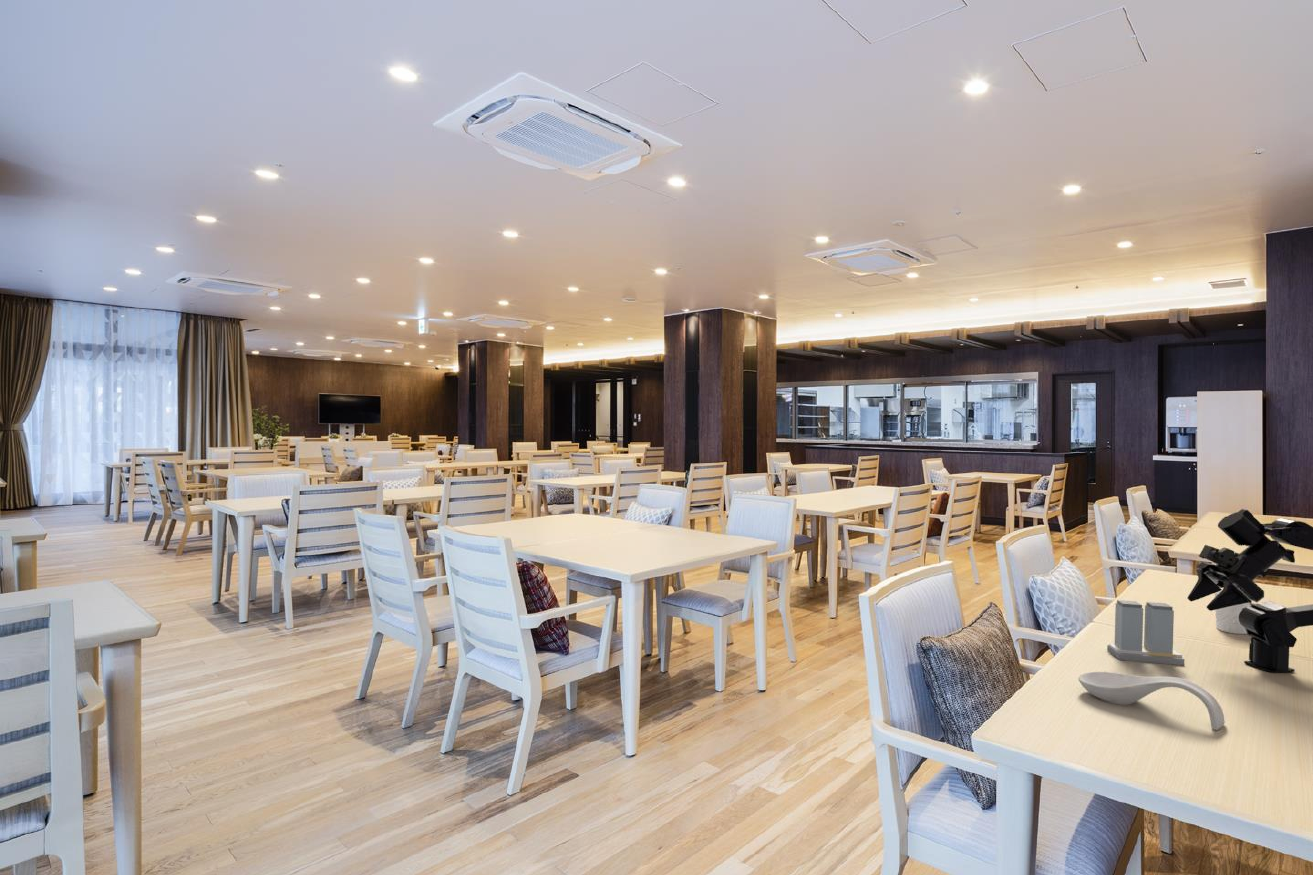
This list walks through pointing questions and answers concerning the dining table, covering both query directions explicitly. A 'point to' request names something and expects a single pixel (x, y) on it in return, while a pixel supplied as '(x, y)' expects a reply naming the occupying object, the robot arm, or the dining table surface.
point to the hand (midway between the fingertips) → (1198, 604)
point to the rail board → (1145, 655)
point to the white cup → (1230, 618)
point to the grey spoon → (1145, 690)
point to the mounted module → (1129, 625)
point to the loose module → (1158, 627)
